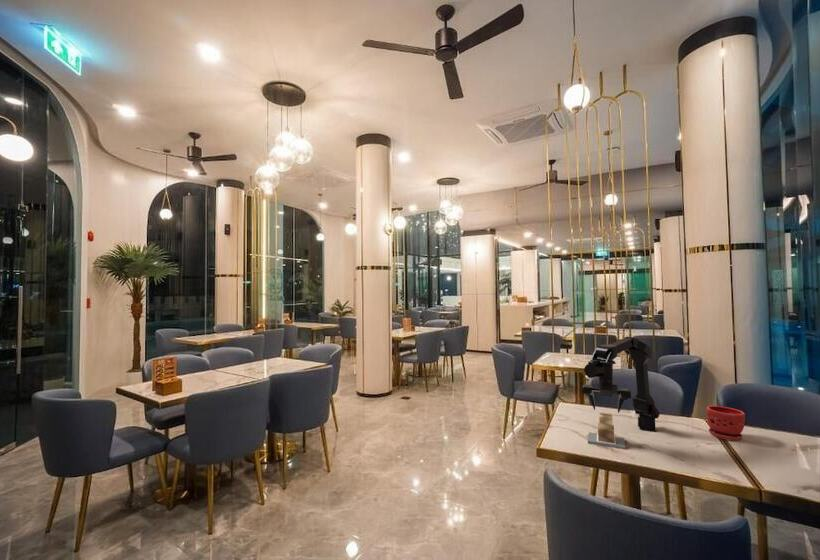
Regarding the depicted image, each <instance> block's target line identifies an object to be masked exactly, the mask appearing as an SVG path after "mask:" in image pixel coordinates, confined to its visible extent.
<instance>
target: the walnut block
mask: <svg viewBox="0 0 820 560" xmlns="http://www.w3.org/2000/svg"><path fill="white" fill-rule="evenodd" d="M597 433H598V441H602V442H608V443H614V436H615V426H614V424H613V430H610V429H603V428H599V422H598V426H597Z"/></svg>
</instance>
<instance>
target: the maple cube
mask: <svg viewBox="0 0 820 560" xmlns="http://www.w3.org/2000/svg"><path fill="white" fill-rule="evenodd" d="M598 414H599V415H598V417H599V418H598V420H599V421H598V423H599V428H603V429H610V430H613V425H614V424H613V414H611V413H605V412H604V413H603V412H599V413H598Z"/></svg>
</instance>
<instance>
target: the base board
mask: <svg viewBox="0 0 820 560" xmlns="http://www.w3.org/2000/svg"><path fill="white" fill-rule="evenodd" d="M587 444H590V445H596V446H603V447H608V448H609V447H610V448H614V449H615V448H616V449H621V450H626V441H625V437H623V436H618V435H614V443H608V442H602V441H598V432H597V433H596V432H590V431H588V436H587Z"/></svg>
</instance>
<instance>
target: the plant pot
mask: <svg viewBox="0 0 820 560" xmlns="http://www.w3.org/2000/svg"><path fill="white" fill-rule="evenodd" d="M706 418H707V419H706V420H707V423H708V425H709V428H708V431H709V433H710V435H712V436H714V437H715V438H718V439H721V440H725V441H727V440H728V441H740V440H741V439H743V434H742V432H743V430H744V428H745V423H746V413H745V412H744V411H742V410H740V409H737V408H732V407H727V406H719V405H709V406H707V407H706Z"/></svg>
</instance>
